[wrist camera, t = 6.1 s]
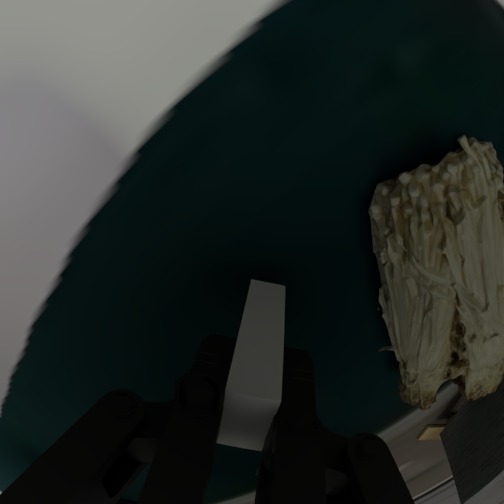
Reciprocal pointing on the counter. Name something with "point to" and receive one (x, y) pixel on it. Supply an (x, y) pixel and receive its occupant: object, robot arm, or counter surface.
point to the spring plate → (476, 444)
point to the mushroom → (443, 272)
